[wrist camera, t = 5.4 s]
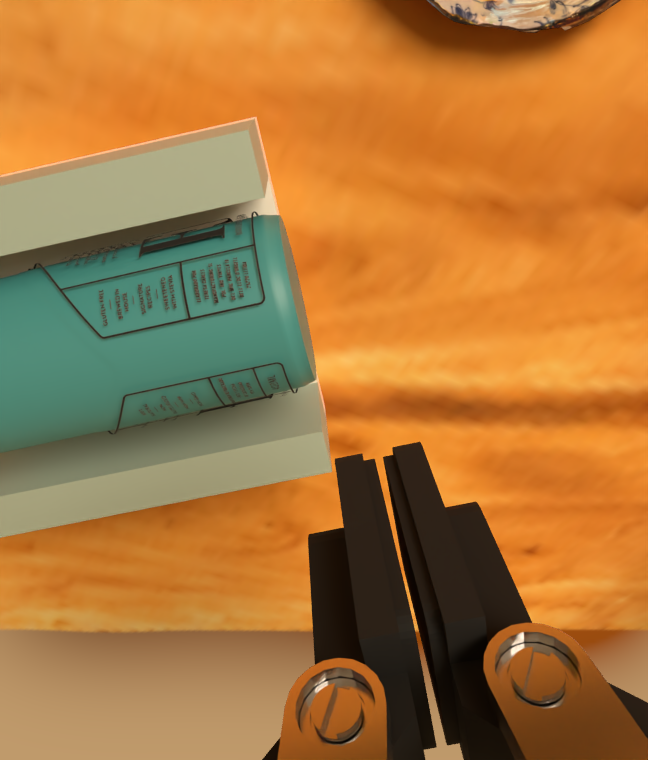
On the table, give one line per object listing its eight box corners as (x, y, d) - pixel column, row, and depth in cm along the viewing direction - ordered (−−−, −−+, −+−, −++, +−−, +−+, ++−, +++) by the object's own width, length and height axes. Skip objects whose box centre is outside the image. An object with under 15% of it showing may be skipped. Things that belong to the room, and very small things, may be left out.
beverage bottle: (317, 178, 17) (-315, 323, 18) (363, 396, 18) (-244, 524, 19) (322, 213, 23) (-143, 317, 24) (355, 372, 24) (-95, 468, 25)
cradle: (256, 116, 22) (247, 129, 17) (324, 405, 28) (332, 471, 23) (-121, 202, 22) (-225, 237, 18) (28, 466, 29) (-22, 541, 24)
